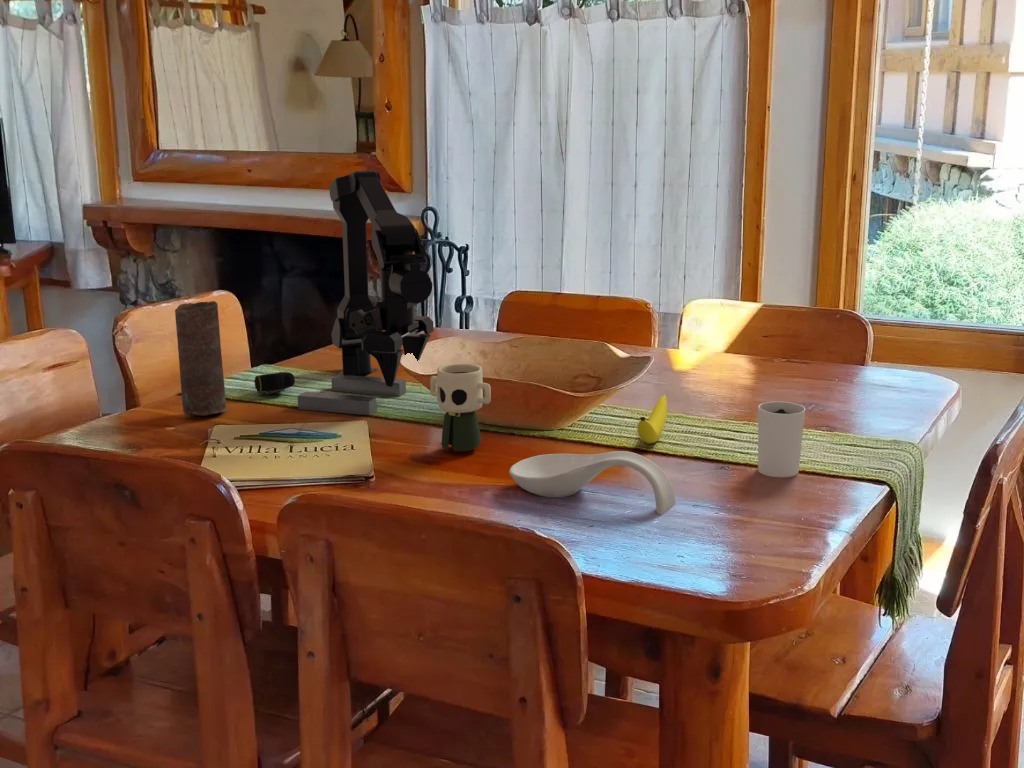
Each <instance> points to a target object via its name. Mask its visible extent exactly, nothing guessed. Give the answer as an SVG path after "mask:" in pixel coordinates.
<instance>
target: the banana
mask: <svg viewBox="0 0 1024 768" xmlns="http://www.w3.org/2000/svg"><path fill="white" fill-rule="evenodd" d="M667 417H668V402H667V396H666V394H662V396H660V398H659V399H658V400H657V401H656V403H655V404H654V407H653V409H652V411H651V413H650V415H649V418H648V419H646V416H645V417H644V416H640V417H639V419H640V420H639V421H638V423H637V427H636V430H637V434H638V437H639V439H640V440H641V441H642V442H644V443H646V444H649V445H650V444H653V443H656V442H659V440H660V437H662V433H663V430H664V427H665V425H666V422H667Z"/></svg>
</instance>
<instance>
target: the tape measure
mask: <svg viewBox="0 0 1024 768" xmlns="http://www.w3.org/2000/svg"><path fill="white" fill-rule="evenodd" d="M295 378H296V377H295V375H294V374H293V373H292V372H288V371H279V372H273V373H266V374H259V375H255V377H254V382H253V383H254V387H255V390H256V391H257V392H258V393H265V395H271V394H273V393H275V392H279V391H282V392H285V390H286V389H289V388H292V387H293V386H294V385H295V382H296V380H295Z"/></svg>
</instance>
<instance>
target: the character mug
mask: <svg viewBox="0 0 1024 768" xmlns="http://www.w3.org/2000/svg"><path fill="white" fill-rule="evenodd" d="M436 374H437V375H432V376H430V379H429V383H430V384H429V385H430V395H431V396H433V397H436V401H437V405H438V407H439V408H440V410H441V411H443V412H445V414H444V417H443V422H442V432H441V444H440V445H441V447H442V449H445V450H447V451H448V450H449V446H451V447H452V450H453V452H466V451H467V452H468V451H472V450H473V451H474V449H476V448H478V447H479V446H480V445H482V439H481V431H480V425H479V419H478V415H477V413H476V411H478V410H479V409H481V408H482V407H483V404H485V405H488V404H491V400H492V396H491V394H492V393H491V392H492V391H491V390H492V389H491V385H490V384H489V383H487V382H484V381H483V379H484V378H483V376H484V375H483V367H482V366H480V365H477V364H473V363H453V364H451V363H450V364H446V365H445V364H444V365H441V366H439V367H437V373H436ZM483 390H484V391H483ZM483 395H484V396H483Z"/></svg>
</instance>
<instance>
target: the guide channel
mask: <svg viewBox="0 0 1024 768" xmlns="http://www.w3.org/2000/svg"><path fill="white" fill-rule="evenodd" d="M330 383H331V391H332V392H338V391H339V392H340V393H339V392H338V393H329V392H315V391H304V392H302V393H300V394H298V395H297V406H298V407H297V408H298V410H304V411H305V410H306V411H313V412H314V411H316V412H326V413H327V412H329V413H337V414H339V413H340V414H348V415H349V414H351V415H362V416H372V414H374V413H376V412H377V411H378V403H377V396H379V395H380V396H391V397H401V396H403V395H404V394H406V393H407V380H406V379H402V378H396V379H395V382H394V385H393V386H392V387H388V386H387V385H386V382H385V380H384V377H379V376H378V377H376V376H366V377H365V376H352V375H335V376H333V377H331V379H330ZM351 392H352V394H344V393H351ZM341 393H343V394H341ZM353 393H355V394H365V395H354V394H353ZM366 395H367V396H366ZM368 395H377V396H368Z"/></svg>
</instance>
